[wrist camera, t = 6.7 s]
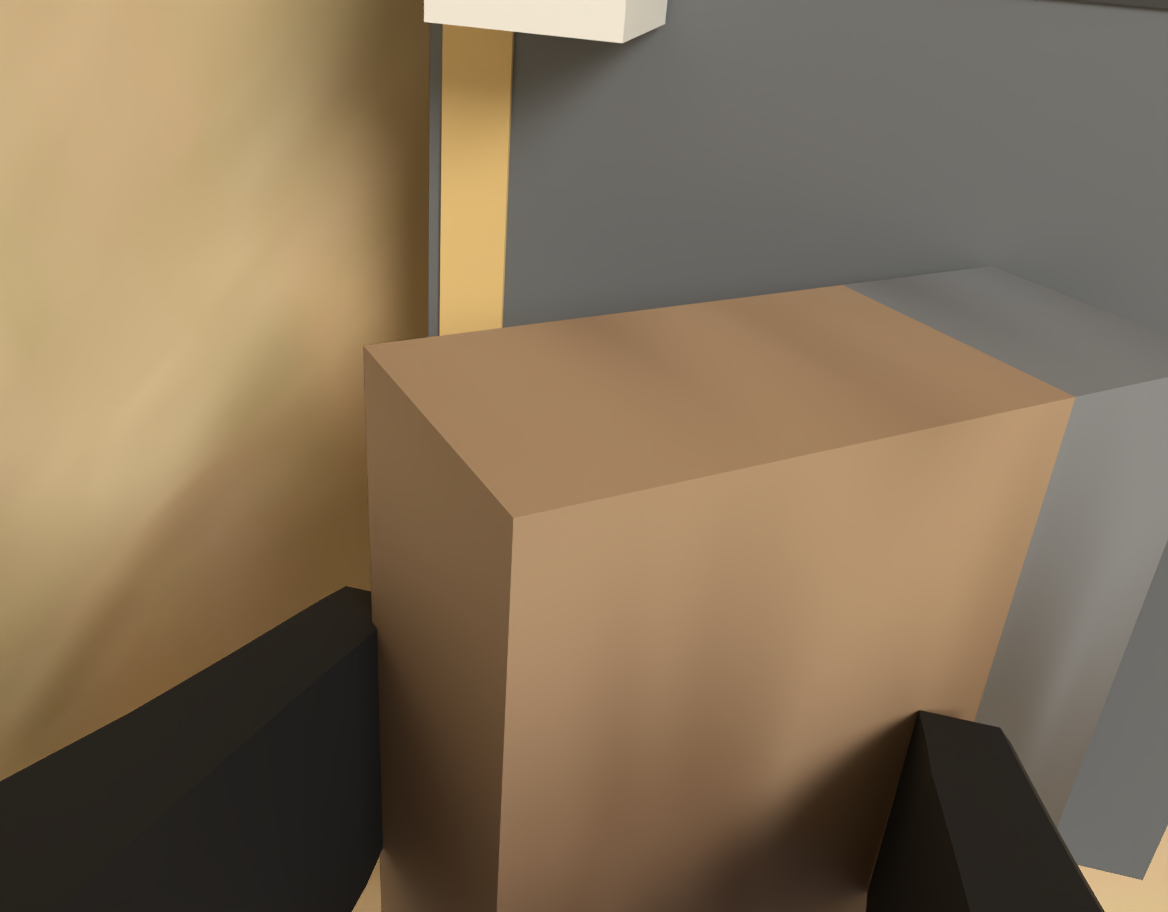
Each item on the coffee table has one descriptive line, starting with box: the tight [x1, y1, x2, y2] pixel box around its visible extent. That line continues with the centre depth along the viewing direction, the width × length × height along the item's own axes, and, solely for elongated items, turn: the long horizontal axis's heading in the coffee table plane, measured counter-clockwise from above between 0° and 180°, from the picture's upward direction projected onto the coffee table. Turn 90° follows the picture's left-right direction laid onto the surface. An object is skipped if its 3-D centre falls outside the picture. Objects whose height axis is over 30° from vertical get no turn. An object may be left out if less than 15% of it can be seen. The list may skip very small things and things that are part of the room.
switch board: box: [428, 0, 1168, 880], centre depth 11 cm, size 12×9×2 cm
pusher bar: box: [363, 266, 1168, 912], centre depth 9 cm, size 7×2×6 cm
